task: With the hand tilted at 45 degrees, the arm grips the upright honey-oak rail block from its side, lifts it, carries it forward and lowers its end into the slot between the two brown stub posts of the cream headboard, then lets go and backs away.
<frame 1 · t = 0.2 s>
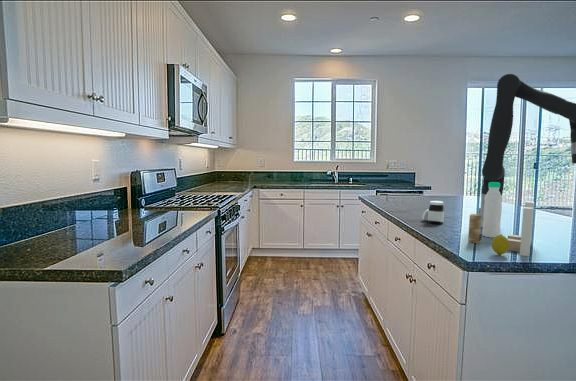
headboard: (512, 247, 144), on the countertop
water bottle: (490, 236, 163), on the countertop
rail: (474, 242, 152), on the countertop
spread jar: (432, 222, 195), on the countertop
lemon: (499, 255, 134), on the countertop
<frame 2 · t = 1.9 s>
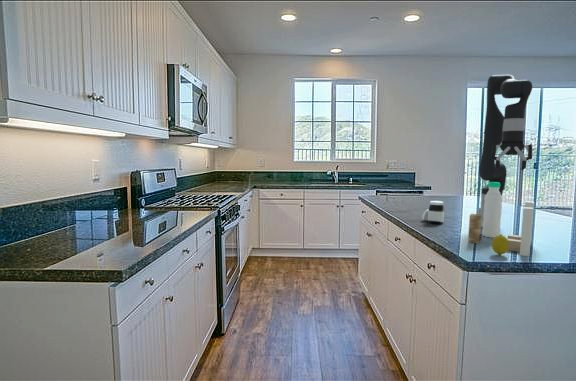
hand: (510, 169, 147), 31 cm above the countertop, tool pointing down, fingers open, 8 cm apart
nothing on the countertop moved.
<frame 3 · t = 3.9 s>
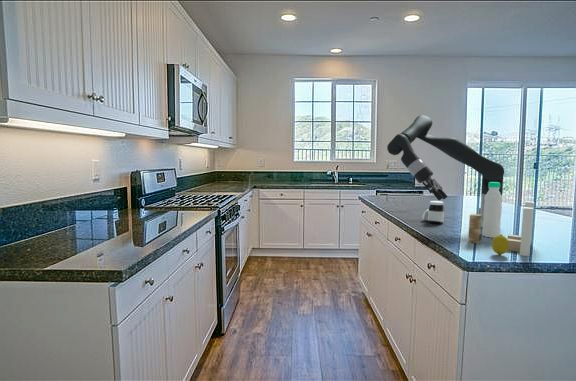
hand: (443, 198, 158), 18 cm above the countertop, tool tilted 45°, fingers open, 8 cm apart
nothing on the countertop moved.
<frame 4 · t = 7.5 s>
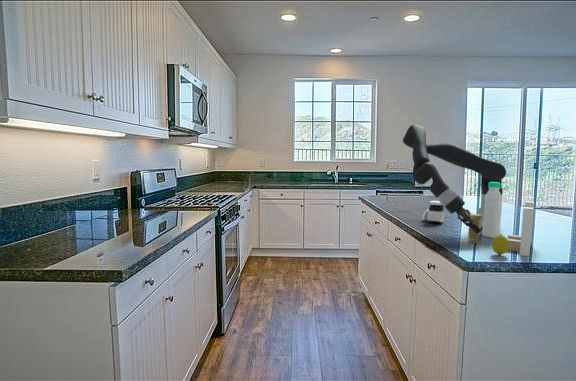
hand: (479, 231, 151), 5 cm above the countertop, tool tilted 45°, fingers closed on rail, 4 cm apart
rail: (473, 242, 152), on the countertop, touching gripper
everything else where it was.
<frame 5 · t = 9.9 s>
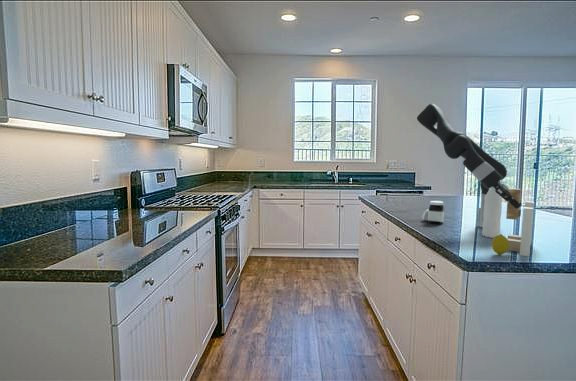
hand: (519, 206, 142), 17 cm above the countertop, tool tilted 45°, fingers closed on rail, 4 cm apart
rail: (512, 218, 143), point 12 cm above the countertop, touching gripper
everything else where it was.
when the fingers open (7 cm above the countertop, at t = 12.2 s): rail drops 2 cm, on the countertop.
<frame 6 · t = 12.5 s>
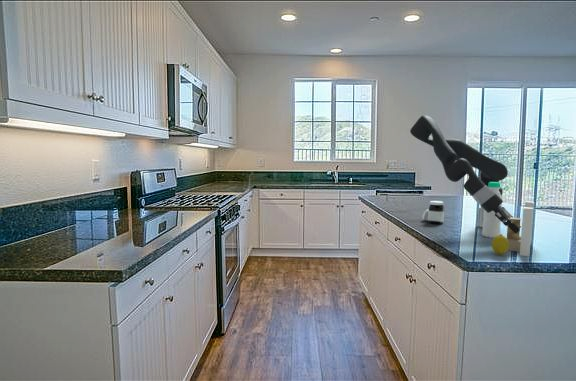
hand: (518, 230, 143), 7 cm above the countertop, tool tilted 45°, fingers open, 6 cm apart
rail: (512, 247, 144), on the countertop
everything else where it was.
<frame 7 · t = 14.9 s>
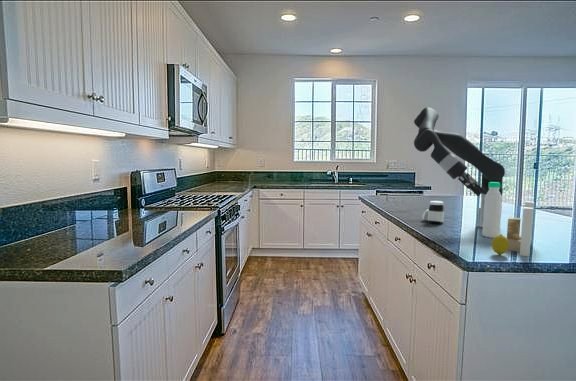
hand: (481, 193, 150), 21 cm above the countertop, tool tilted 45°, fingers open, 8 cm apart
nothing on the countertop moved.
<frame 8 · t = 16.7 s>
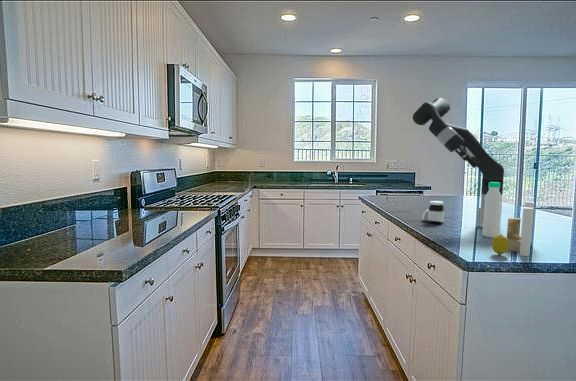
hand: (477, 165, 151), 33 cm above the countertop, tool tilted 45°, fingers open, 8 cm apart
nothing on the countertop moved.
at the end: rail 0.1 cm off-centre on the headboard, point 0.0 cm above the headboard's base; rail tilted 0°; the gripper is holding nothing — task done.
